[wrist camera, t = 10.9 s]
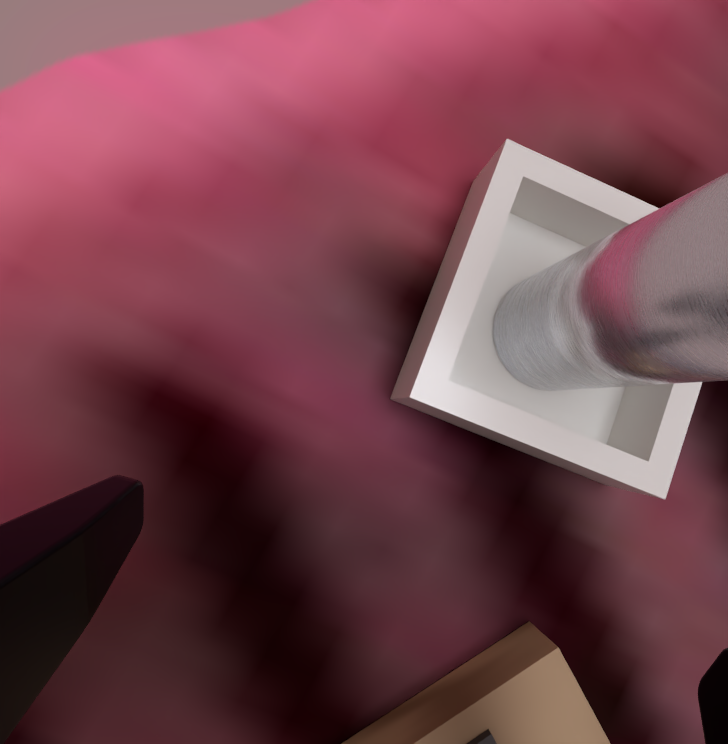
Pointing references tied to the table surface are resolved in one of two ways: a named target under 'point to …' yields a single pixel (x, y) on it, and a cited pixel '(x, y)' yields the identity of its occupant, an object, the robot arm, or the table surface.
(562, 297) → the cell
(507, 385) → the tray
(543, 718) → the block
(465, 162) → the table surface
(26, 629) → the robot arm
